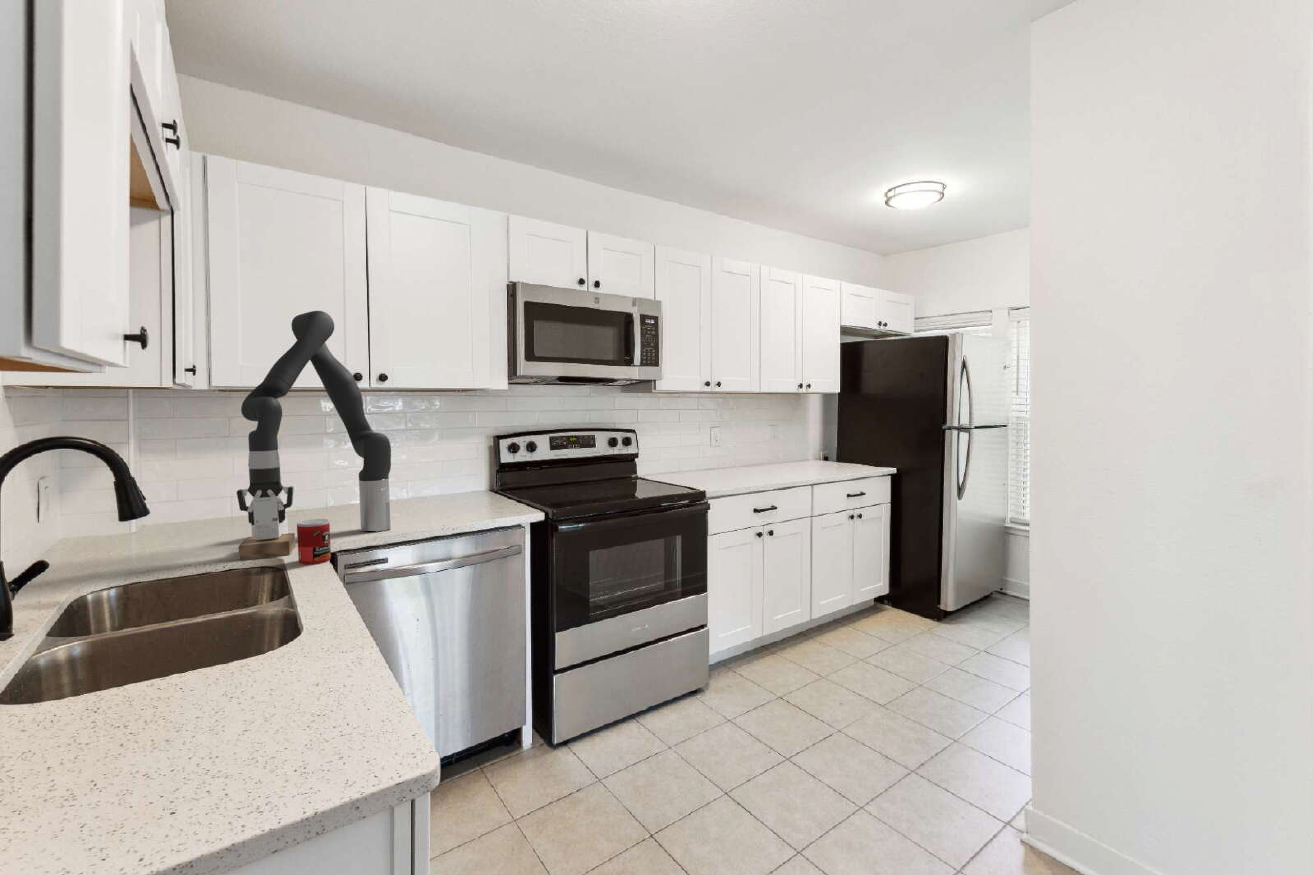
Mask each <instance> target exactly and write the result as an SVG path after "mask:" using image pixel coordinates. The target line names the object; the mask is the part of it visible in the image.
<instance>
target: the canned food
mask: <svg viewBox="0 0 1313 875" xmlns="http://www.w3.org/2000/svg"><path fill="white" fill-rule="evenodd" d="M296 534H297V535H296V536H297V538H296V539H297V555H298V557H297V558H298V562H299V564H302V565H309V566H310V565H317V564H318V565H319V564H324V563H326V562H328V561H330V560H331V557H332V550H331V547H332V546H331V526H330V520H329V519H326V518H312V519H305V520H300V521H298V522H296Z"/></svg>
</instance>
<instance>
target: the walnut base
mask: <svg viewBox="0 0 1313 875" xmlns="http://www.w3.org/2000/svg"><path fill="white" fill-rule="evenodd" d="M295 547H296V534H295V532H290V533H289V532H288V534H281V536H280V537H279V538H272V539H263V540H256V539H255V536H252V535H251V536H247V537H245V539H243V541H241V543H240V544H239V545H238V559H239V561H242V560H251V559H252V560H253V559H261V558H263V559H264V558H272V557H271V556H274V557H283V556H290V555H291V553H292V552H293V551H294V548H295Z"/></svg>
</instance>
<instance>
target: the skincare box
mask: <svg viewBox="0 0 1313 875" xmlns="http://www.w3.org/2000/svg"><path fill="white" fill-rule="evenodd" d="M277 498H278V496H277V497H262V498H257V499H253V498H252V500H253V513H254V525H255V539H256V540H263V539H272V538H279V537H280V536H281V523H279V510H280V509H279V508H278V506H277Z"/></svg>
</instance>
